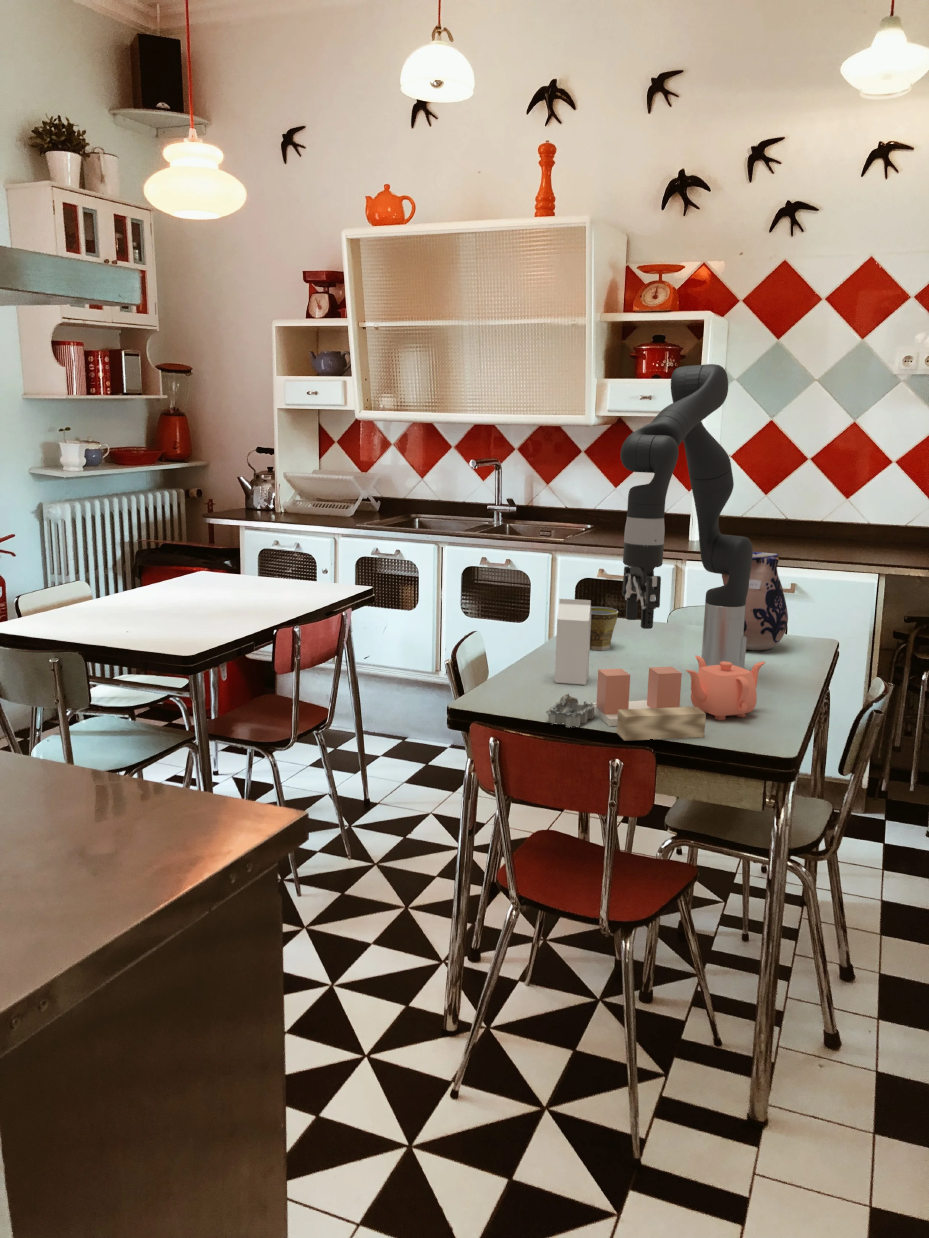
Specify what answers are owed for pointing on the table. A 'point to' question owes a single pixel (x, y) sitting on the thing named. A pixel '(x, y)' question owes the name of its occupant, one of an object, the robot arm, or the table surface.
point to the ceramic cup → (602, 627)
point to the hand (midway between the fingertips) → (638, 623)
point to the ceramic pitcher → (764, 603)
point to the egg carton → (570, 712)
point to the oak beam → (660, 723)
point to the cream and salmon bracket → (617, 685)
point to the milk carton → (573, 641)
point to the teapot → (724, 688)
